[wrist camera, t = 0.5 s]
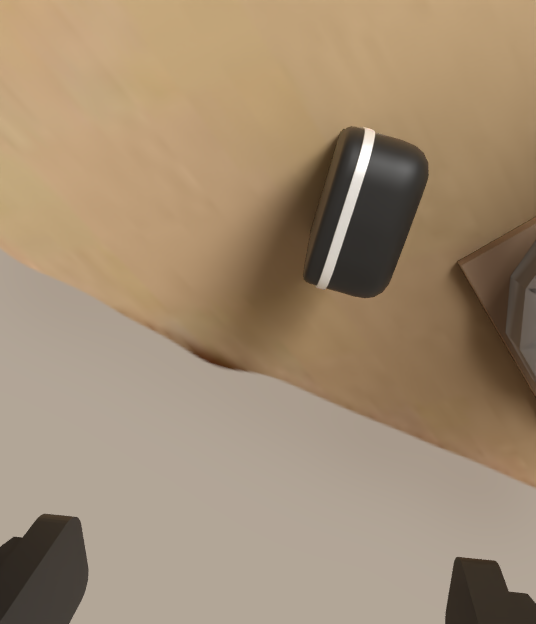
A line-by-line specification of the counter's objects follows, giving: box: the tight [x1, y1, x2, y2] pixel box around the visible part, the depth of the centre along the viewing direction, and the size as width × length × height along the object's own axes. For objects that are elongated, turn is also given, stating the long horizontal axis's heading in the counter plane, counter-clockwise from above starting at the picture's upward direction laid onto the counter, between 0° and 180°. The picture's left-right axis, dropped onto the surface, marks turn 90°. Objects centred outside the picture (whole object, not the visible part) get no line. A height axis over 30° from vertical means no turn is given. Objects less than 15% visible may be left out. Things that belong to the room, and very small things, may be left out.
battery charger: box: [303, 126, 429, 298], centre depth 25 cm, size 7×4×11 cm, turn 165°
